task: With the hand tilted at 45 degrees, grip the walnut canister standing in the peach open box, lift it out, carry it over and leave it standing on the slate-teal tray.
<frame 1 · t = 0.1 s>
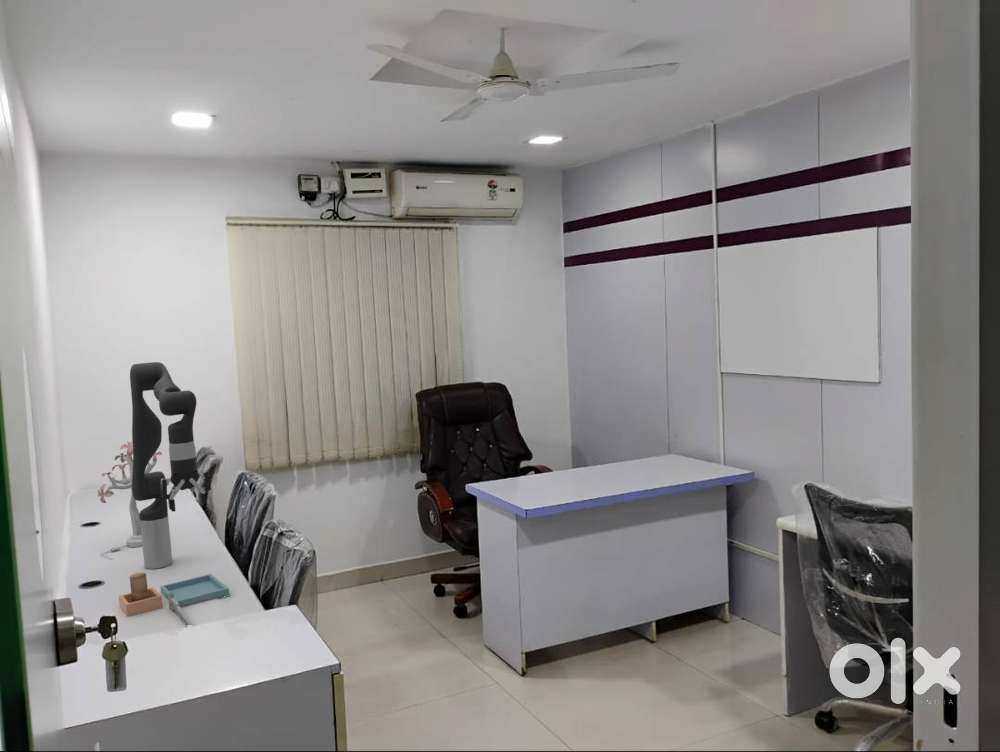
hand: (187, 508, 249), 29 cm above the table, tool pointing down, fingers open, 8 cm apart
peach open box: (141, 608, 247), on the table
decorative lamp: (134, 545, 313), on the table
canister: (141, 607, 247), resting on peach open box
tray: (194, 594, 257), on the table
caliper: (181, 621, 237), on the table
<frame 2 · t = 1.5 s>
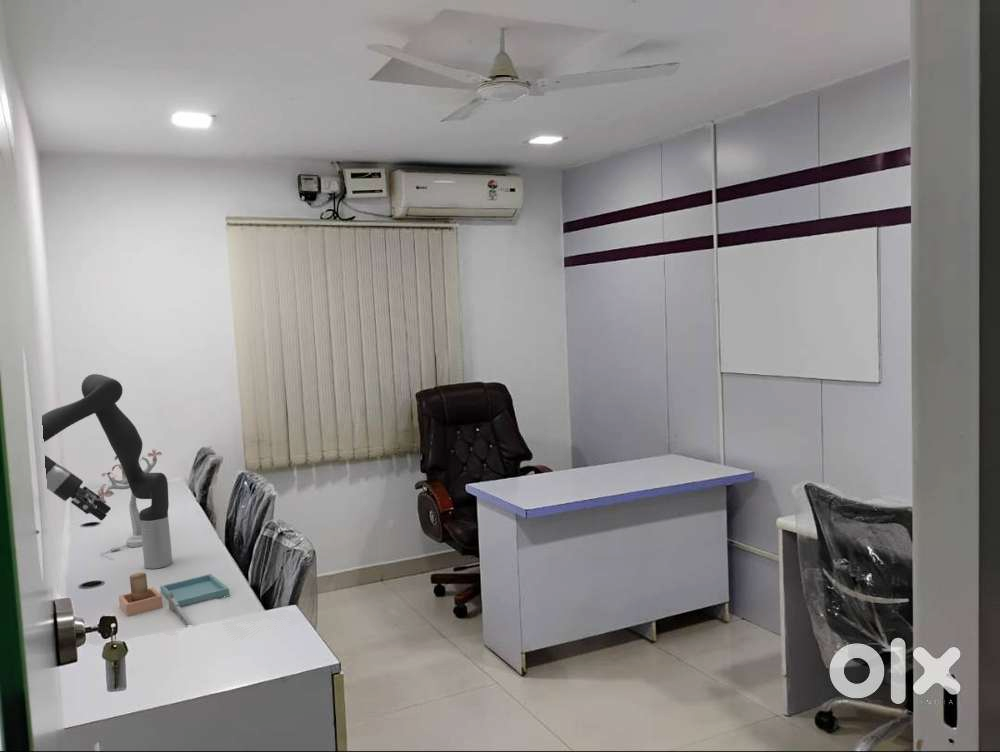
hand: (106, 514, 249), 29 cm above the table, tool tilted 45°, fingers open, 8 cm apart
nothing on the table moved.
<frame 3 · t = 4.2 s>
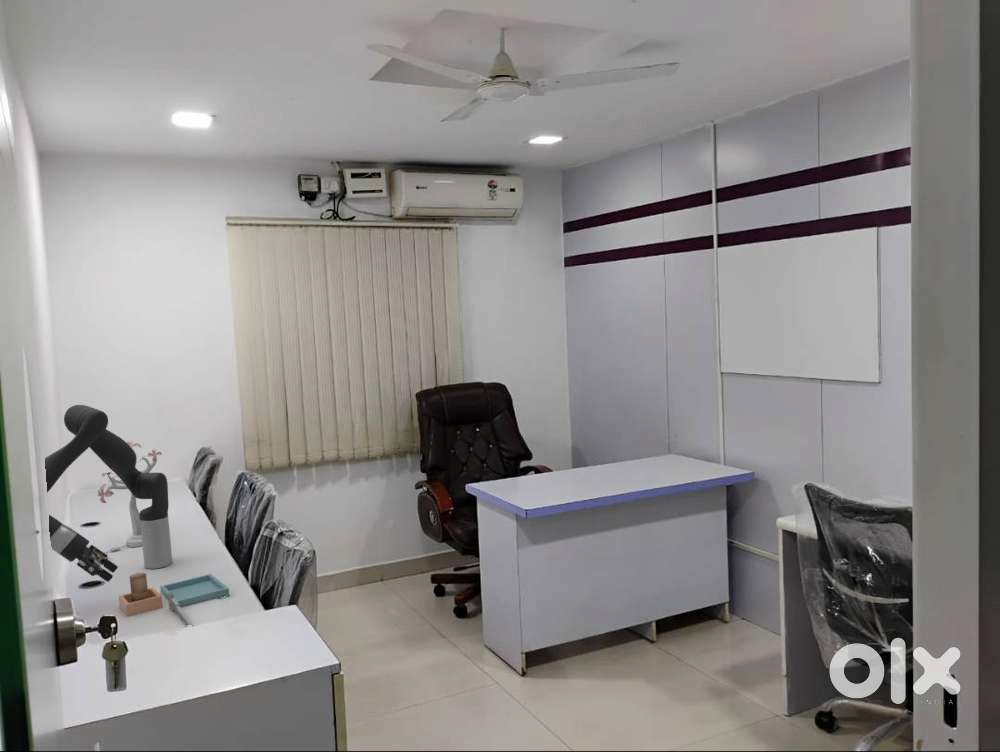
hand: (113, 574, 244), 12 cm above the table, tool tilted 45°, fingers open, 8 cm apart
nothing on the table moved.
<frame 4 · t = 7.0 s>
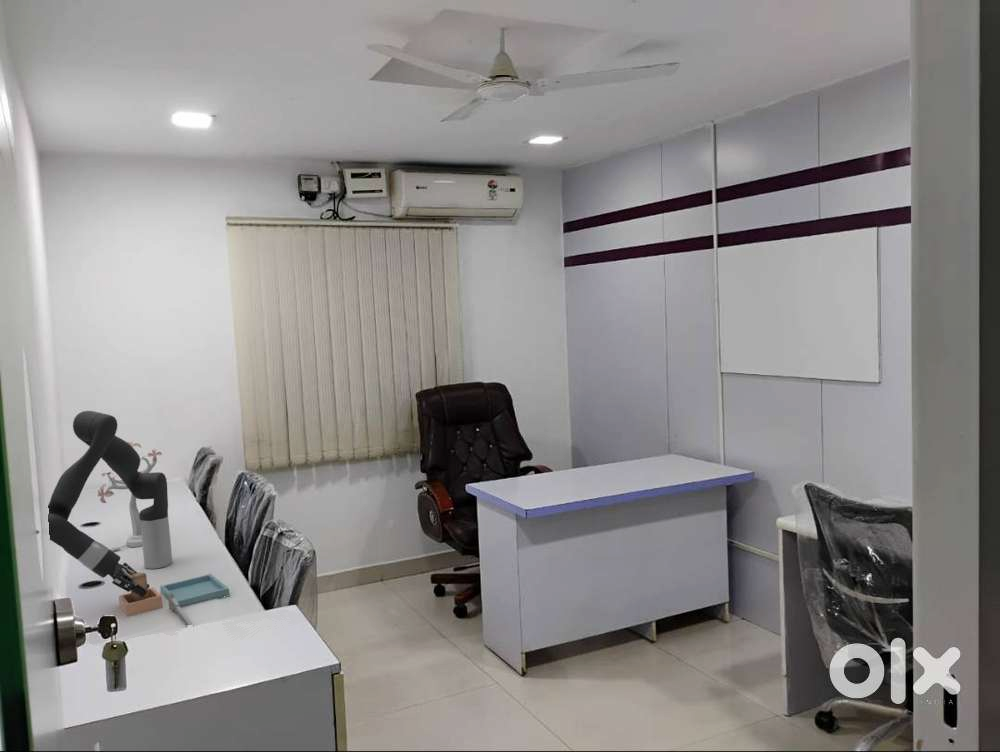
hand: (146, 591, 247), 5 cm above the table, tool tilted 45°, fingers closed on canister, 4 cm apart
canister: (141, 607, 247), point 1 cm above the table, touching peach open box, gripper
everything else where it was.
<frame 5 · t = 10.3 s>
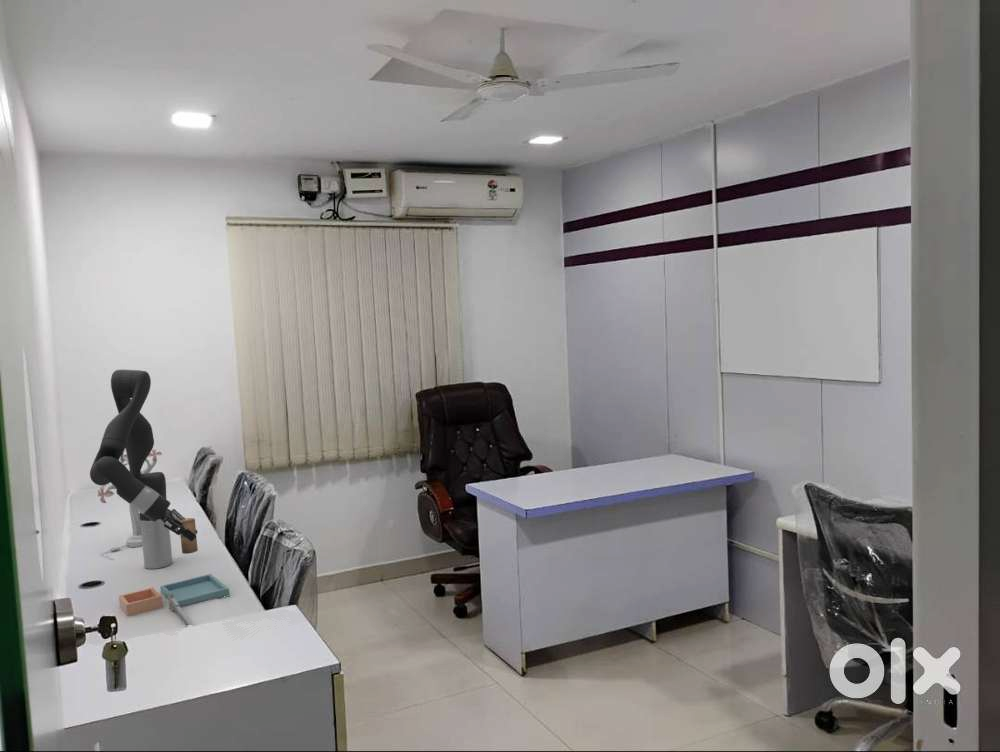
hand: (194, 536, 255), 19 cm above the table, tool tilted 45°, fingers closed on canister, 4 cm apart
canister: (189, 551, 255), point 14 cm above the table, touching gripper
everything else where it was.
when the fingers open (7 cm above the table, at t = 13.4 s): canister drops 1 cm, resting on tray.
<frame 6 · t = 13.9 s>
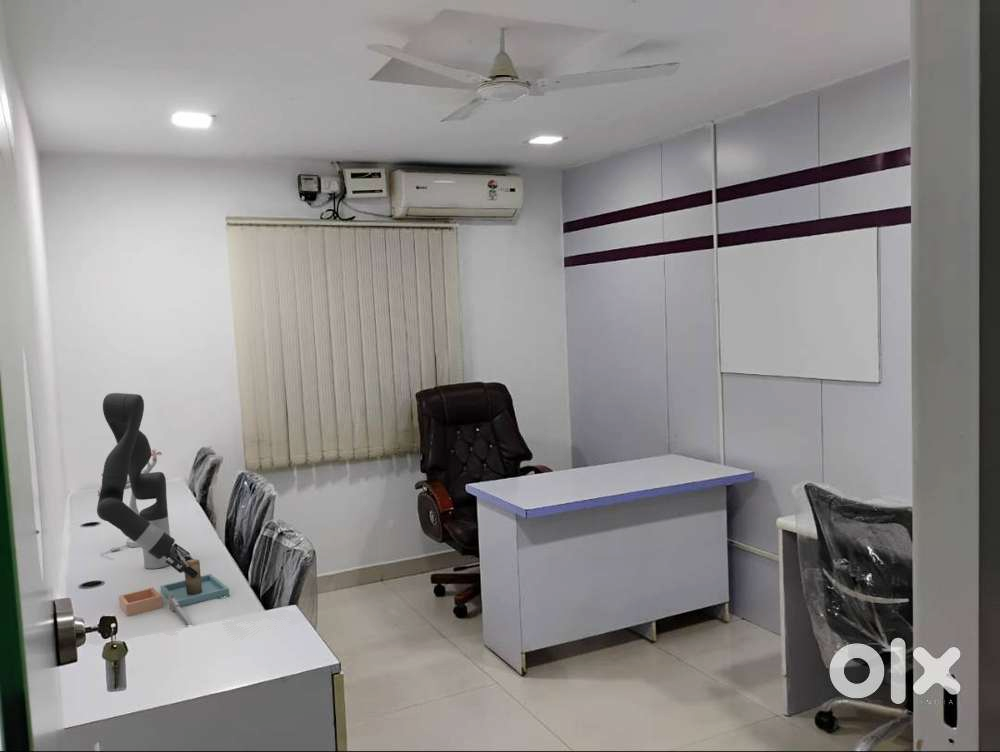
hand: (197, 571, 256), 7 cm above the table, tool tilted 45°, fingers open, 8 cm apart
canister: (194, 592, 257), point 1 cm above the table, touching tray
everything else where it was.
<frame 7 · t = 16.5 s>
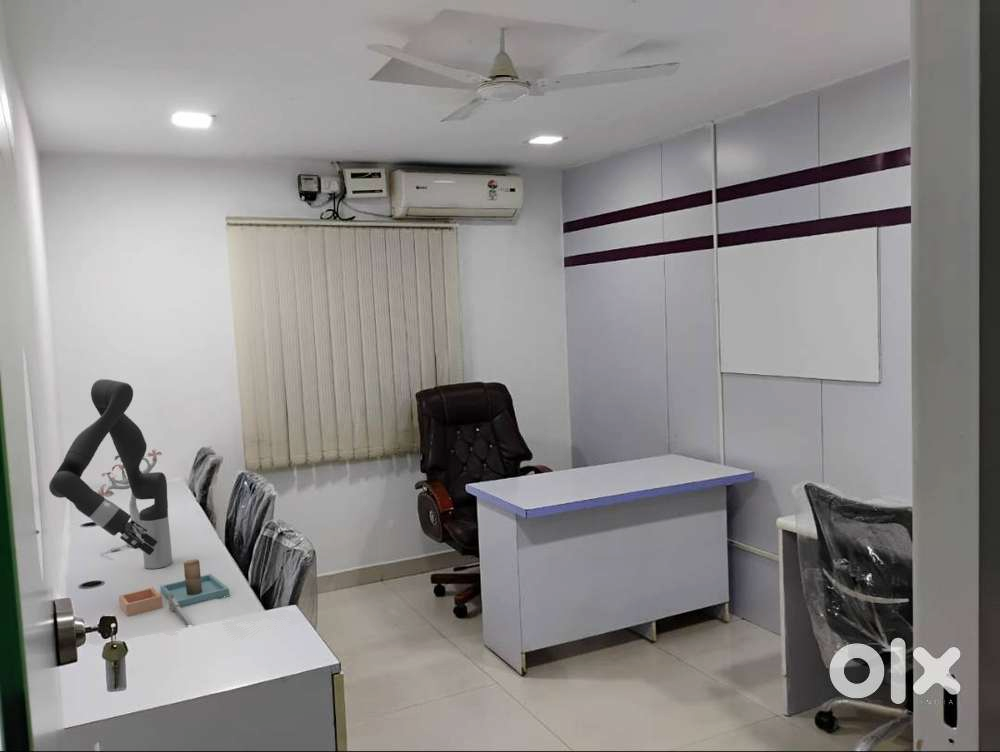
hand: (153, 548, 252), 17 cm above the table, tool tilted 45°, fingers open, 8 cm apart
nothing on the table moved.
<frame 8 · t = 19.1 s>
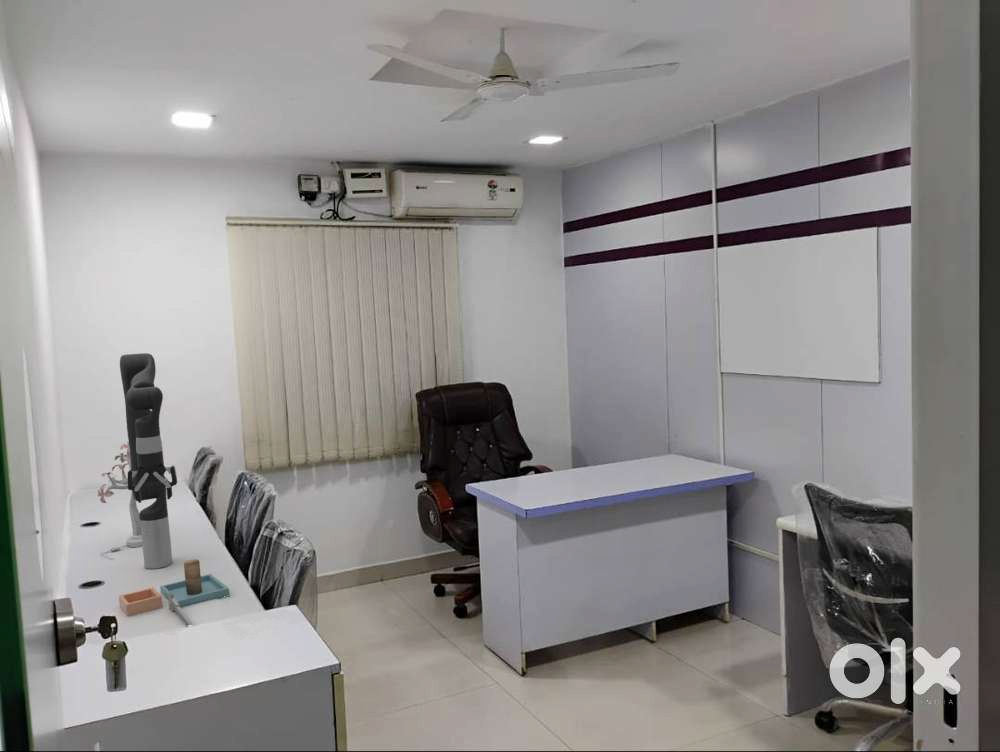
hand: (154, 500, 257), 30 cm above the table, tool pointing down, fingers open, 8 cm apart
nothing on the table moved.
at the end: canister inside the target area on the tray (0.1 cm from its centre), point 0.8 cm above the tray's base; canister tilted 0°; the gripper is holding nothing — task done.
